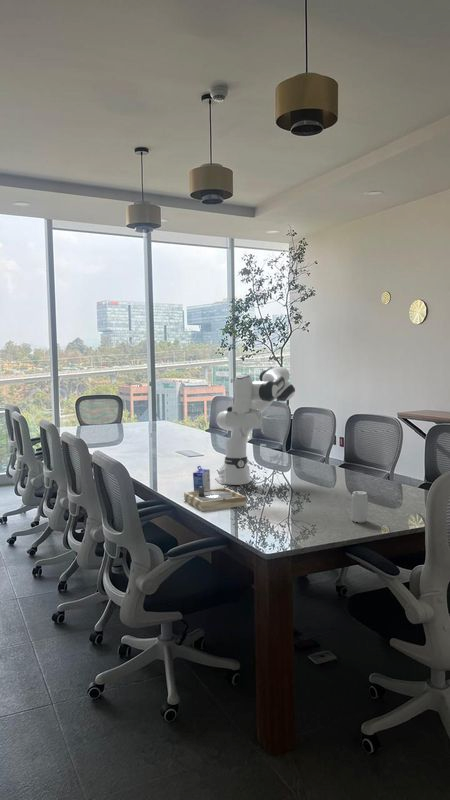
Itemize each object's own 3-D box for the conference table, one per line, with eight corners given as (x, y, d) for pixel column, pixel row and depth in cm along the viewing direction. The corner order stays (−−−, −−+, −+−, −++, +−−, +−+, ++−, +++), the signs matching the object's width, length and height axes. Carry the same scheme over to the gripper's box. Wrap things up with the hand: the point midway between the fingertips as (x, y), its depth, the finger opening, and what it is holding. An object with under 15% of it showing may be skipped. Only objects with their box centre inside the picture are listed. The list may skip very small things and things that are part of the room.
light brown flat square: (184, 500, 281) (184, 491, 280) (226, 495, 290) (226, 487, 290) (201, 511, 261) (201, 501, 261) (246, 505, 270) (246, 496, 270)
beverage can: (349, 519, 244) (349, 490, 243) (364, 518, 244) (364, 490, 244) (354, 523, 238) (354, 494, 237) (369, 523, 238) (369, 493, 237)
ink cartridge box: (200, 492, 298) (200, 464, 297) (210, 493, 296) (210, 464, 295) (193, 497, 288) (192, 467, 287) (203, 497, 287) (203, 468, 286)
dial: (225, 492, 286) (225, 480, 285) (237, 500, 270) (237, 487, 270) (192, 496, 280) (192, 483, 280) (203, 503, 265) (202, 490, 264)
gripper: (264, 408, 282) (264, 437, 283) (231, 407, 296) (232, 434, 296) (256, 409, 277) (256, 439, 278) (223, 408, 291) (223, 436, 292)
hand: (243, 436), depth 288 cm, fingers closed
